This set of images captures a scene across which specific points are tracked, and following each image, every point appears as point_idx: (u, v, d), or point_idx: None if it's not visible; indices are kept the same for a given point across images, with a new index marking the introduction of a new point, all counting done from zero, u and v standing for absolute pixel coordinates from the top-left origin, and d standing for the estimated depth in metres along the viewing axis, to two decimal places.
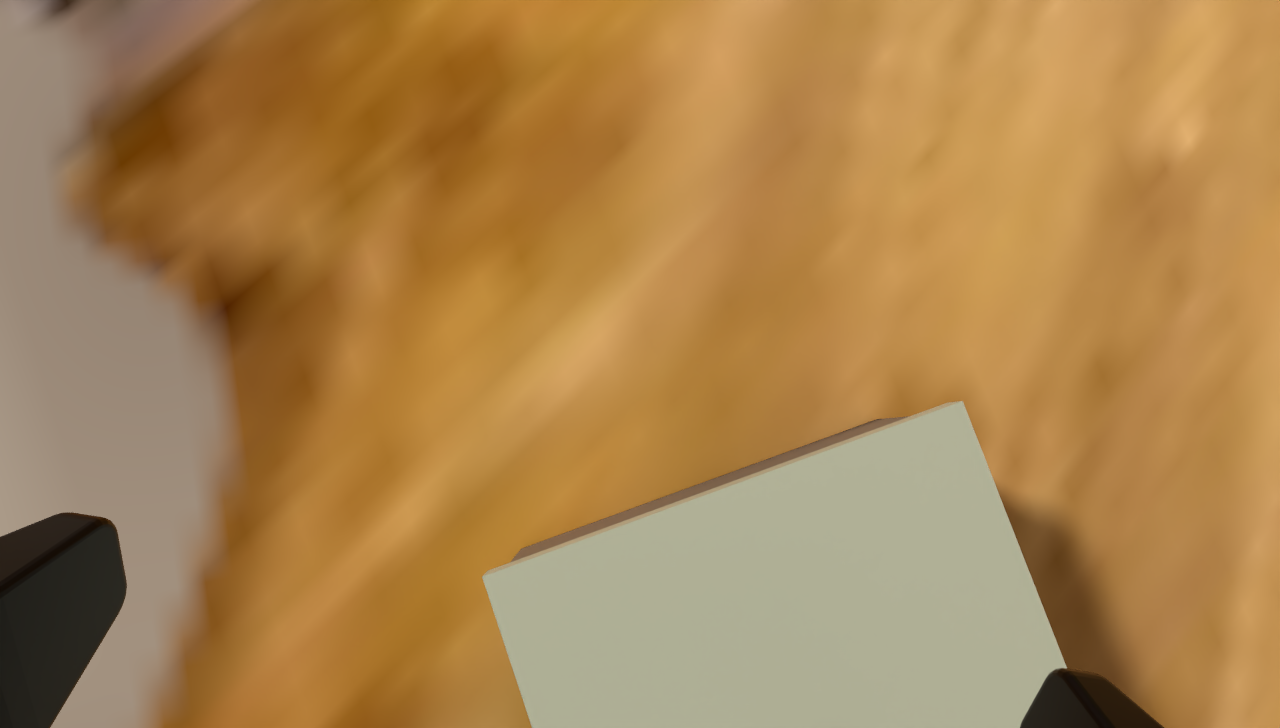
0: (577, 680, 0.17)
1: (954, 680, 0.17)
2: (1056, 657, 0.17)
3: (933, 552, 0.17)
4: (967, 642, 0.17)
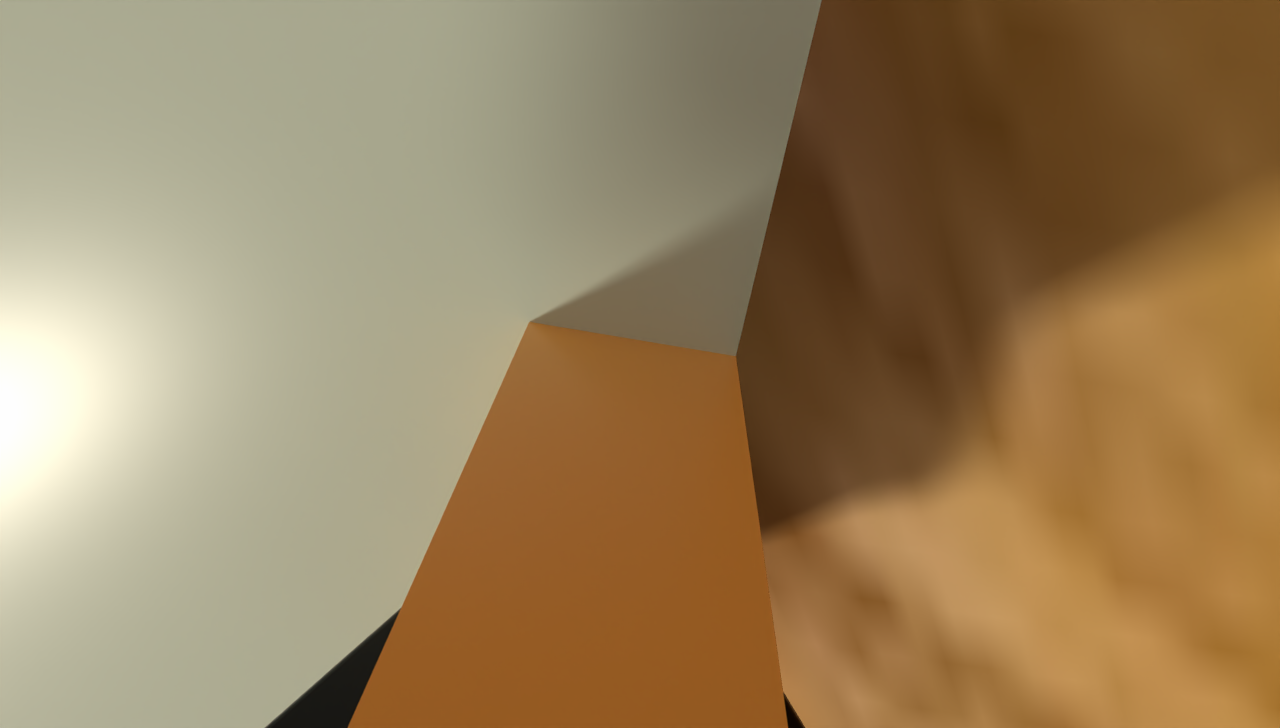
0: None
1: None
2: None
3: None
4: None
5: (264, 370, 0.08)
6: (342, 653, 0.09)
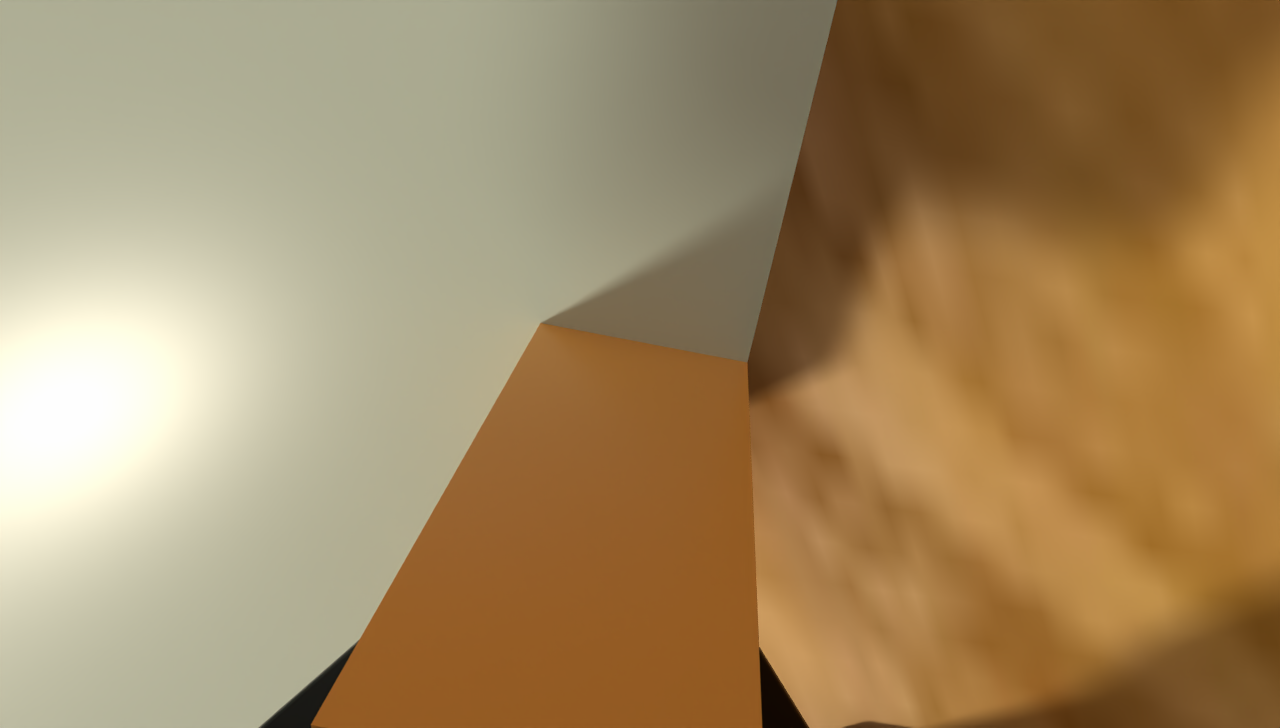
0: None
1: None
2: None
3: None
4: None
5: (283, 364, 0.08)
6: None
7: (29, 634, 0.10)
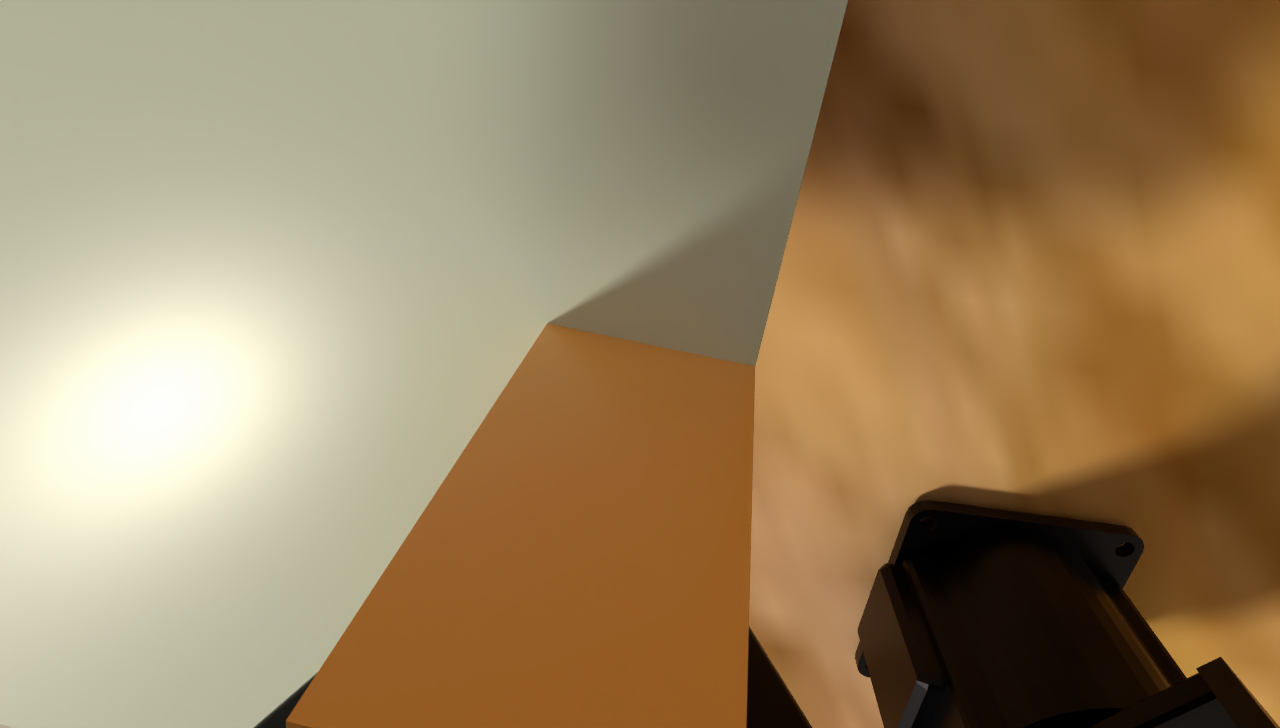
0: None
1: None
2: None
3: None
4: None
5: (293, 360, 0.08)
6: None
7: (47, 622, 0.10)
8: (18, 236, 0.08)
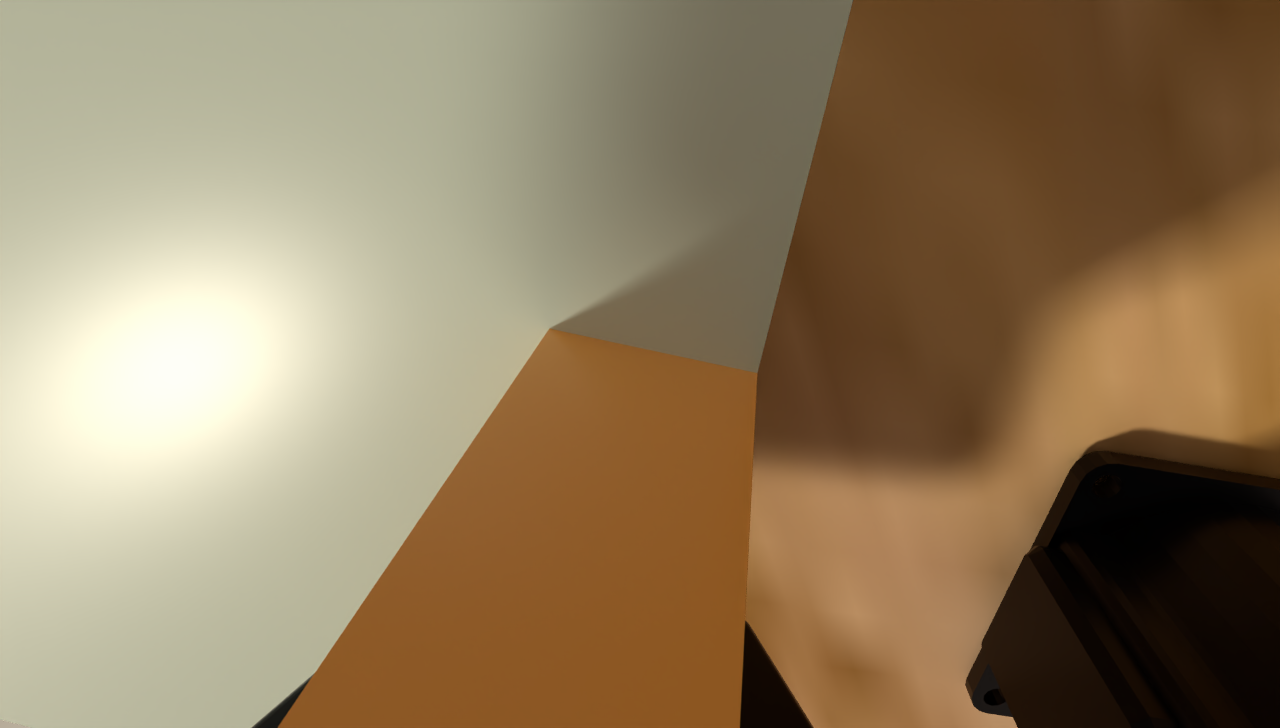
0: None
1: None
2: None
3: None
4: None
5: (296, 364, 0.08)
6: None
7: (54, 621, 0.10)
8: (26, 239, 0.08)
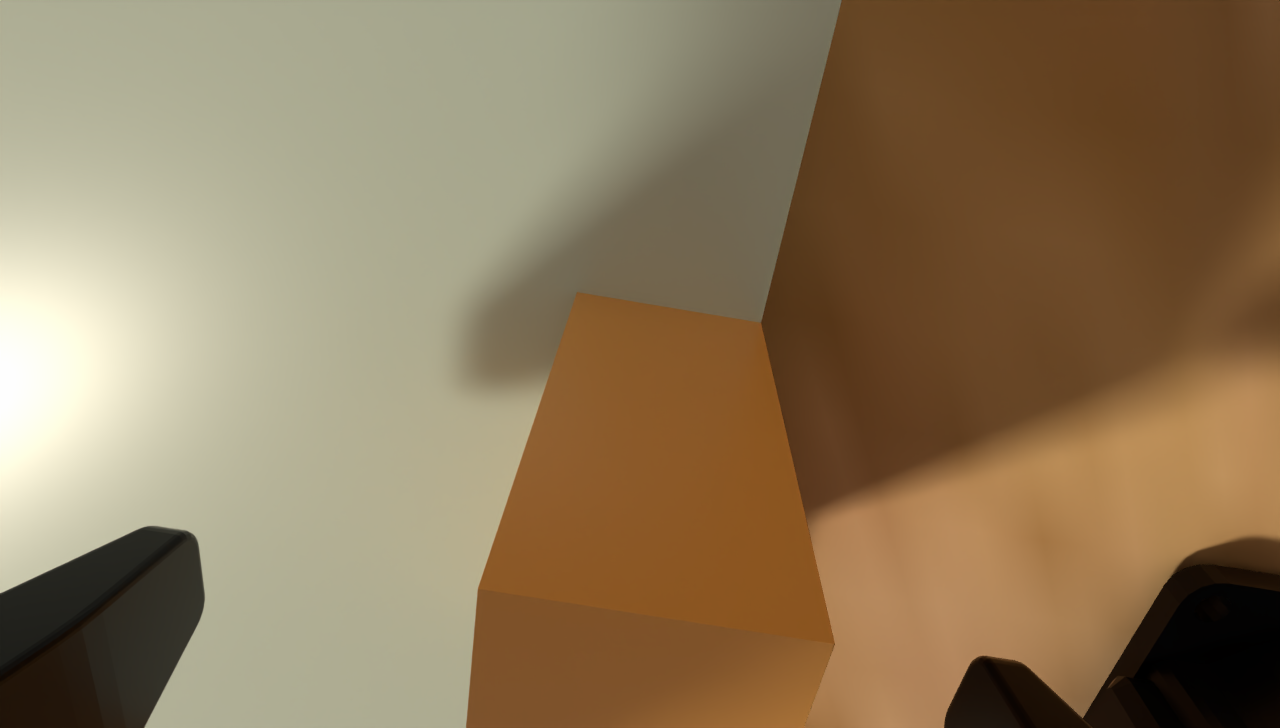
0: None
1: None
2: None
3: None
4: None
5: (338, 336, 0.09)
6: (396, 601, 0.10)
7: None
8: (67, 229, 0.08)
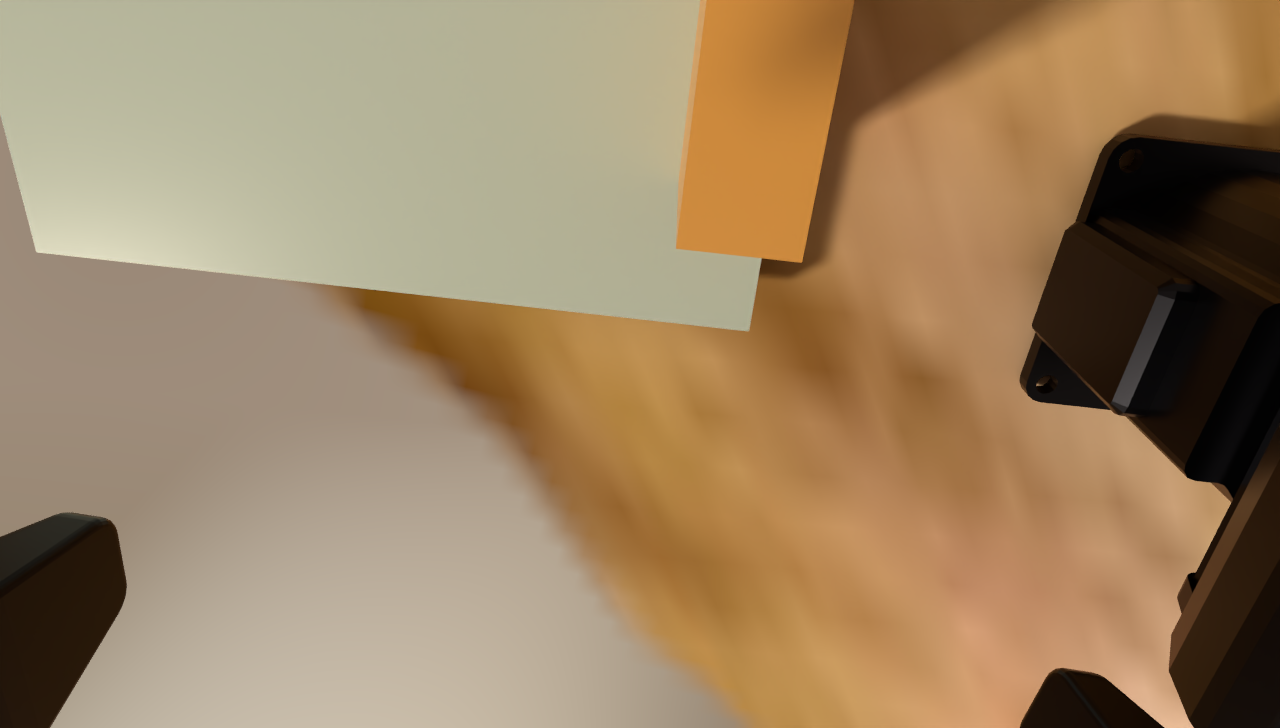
0: (145, 213, 0.17)
1: None
2: None
3: None
4: None
5: None
6: (591, 163, 0.16)
7: (385, 186, 0.17)
8: None
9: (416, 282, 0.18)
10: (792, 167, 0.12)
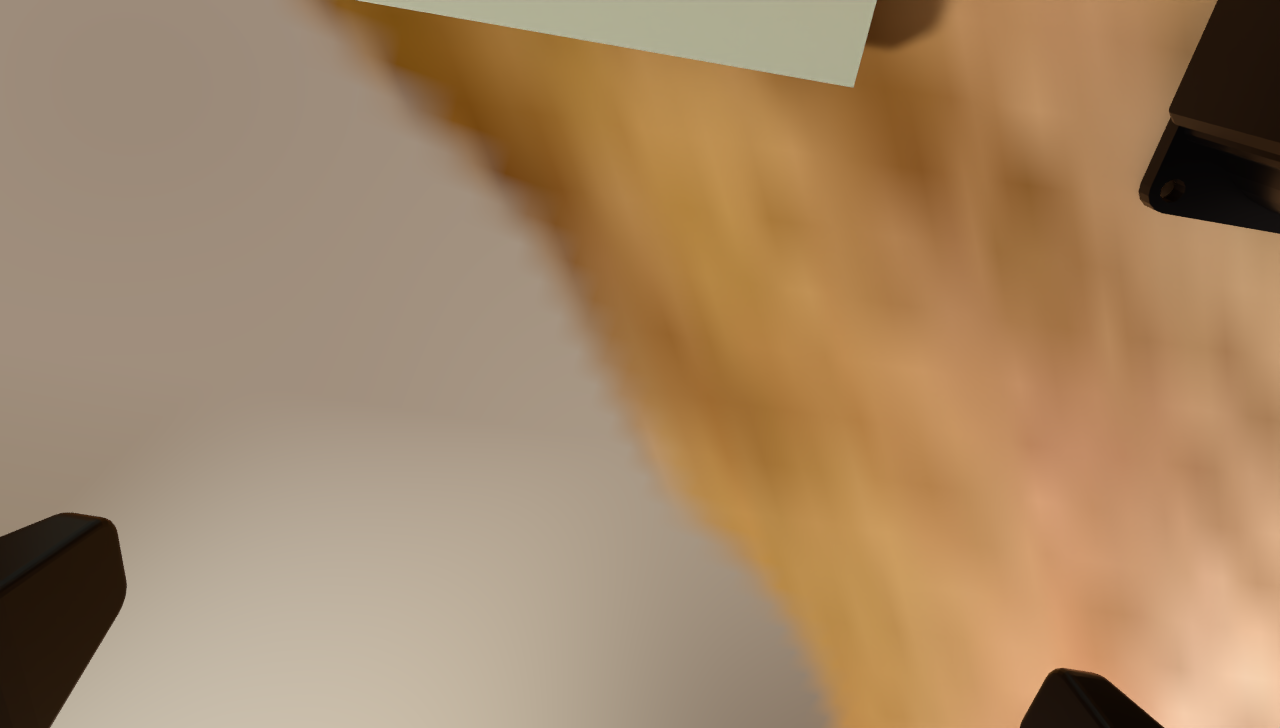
0: None
1: None
2: None
3: None
4: None
5: None
6: None
7: None
8: None
9: (468, 3, 0.15)
10: None
